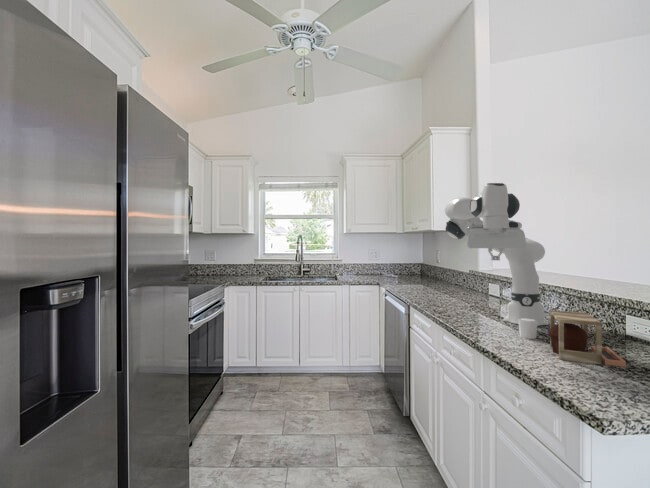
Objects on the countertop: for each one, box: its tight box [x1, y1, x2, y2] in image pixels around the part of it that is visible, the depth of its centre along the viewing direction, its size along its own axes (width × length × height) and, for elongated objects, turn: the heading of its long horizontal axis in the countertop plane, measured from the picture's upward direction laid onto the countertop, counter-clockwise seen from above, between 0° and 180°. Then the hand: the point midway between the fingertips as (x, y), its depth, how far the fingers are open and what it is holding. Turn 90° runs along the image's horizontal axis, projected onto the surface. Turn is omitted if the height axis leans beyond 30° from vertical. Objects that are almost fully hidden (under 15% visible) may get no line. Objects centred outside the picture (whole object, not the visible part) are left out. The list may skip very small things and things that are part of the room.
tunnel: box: [549, 309, 603, 365], centre depth 117 cm, size 16×11×13 cm
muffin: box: [547, 323, 589, 356], centre depth 119 cm, size 12×11×10 cm
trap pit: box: [590, 345, 627, 368], centre depth 114 cm, size 16×5×2 cm, turn 156°
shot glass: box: [518, 318, 538, 340], centre depth 139 cm, size 7×7×7 cm
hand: (495, 260), depth 133 cm, fingers closed
